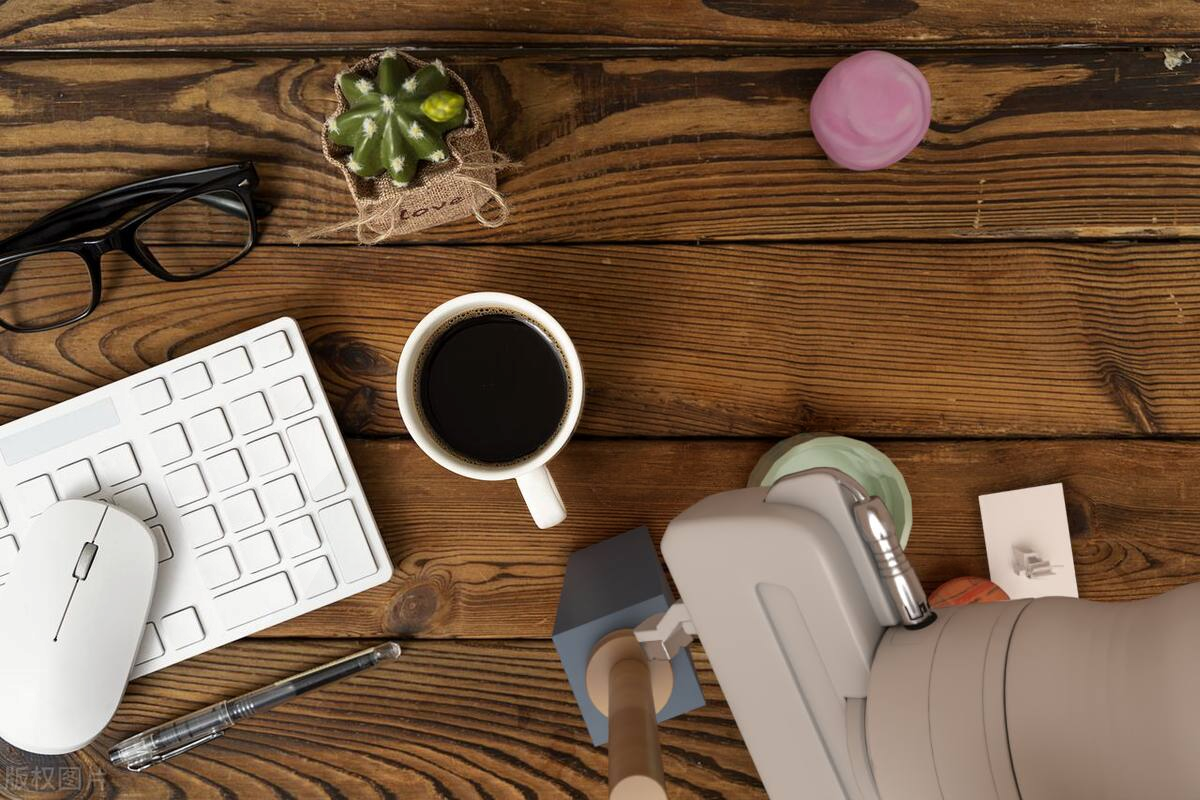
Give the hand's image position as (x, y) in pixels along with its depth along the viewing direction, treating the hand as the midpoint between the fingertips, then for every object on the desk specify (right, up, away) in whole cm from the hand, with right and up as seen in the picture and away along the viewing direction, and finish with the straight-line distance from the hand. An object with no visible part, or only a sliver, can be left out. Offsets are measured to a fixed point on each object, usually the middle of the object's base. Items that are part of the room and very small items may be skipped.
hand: (689, 732), depth 39 cm
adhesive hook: (+32, +3, +34) cm, 47 cm away
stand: (-2, 0, +34) cm, 34 cm away
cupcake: (+17, +37, +33) cm, 53 cm away
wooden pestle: (-2, -1, +11) cm, 11 cm away
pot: (+26, -3, +34) cm, 43 cm away
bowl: (+14, +6, +34) cm, 37 cm away
